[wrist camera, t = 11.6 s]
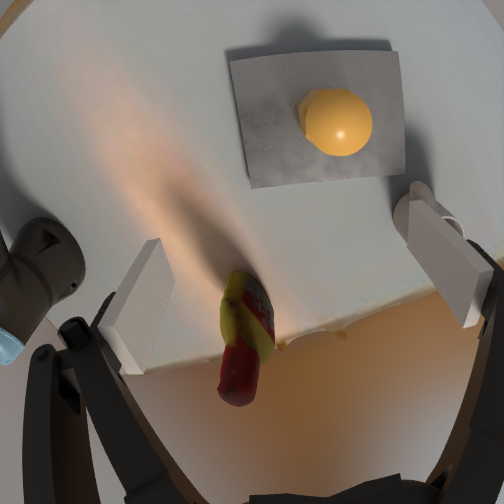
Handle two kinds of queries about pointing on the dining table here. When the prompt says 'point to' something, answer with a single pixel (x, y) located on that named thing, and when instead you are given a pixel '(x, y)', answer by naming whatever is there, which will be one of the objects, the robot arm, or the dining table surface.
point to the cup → (424, 193)
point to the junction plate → (287, 119)
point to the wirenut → (335, 121)
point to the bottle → (244, 337)
